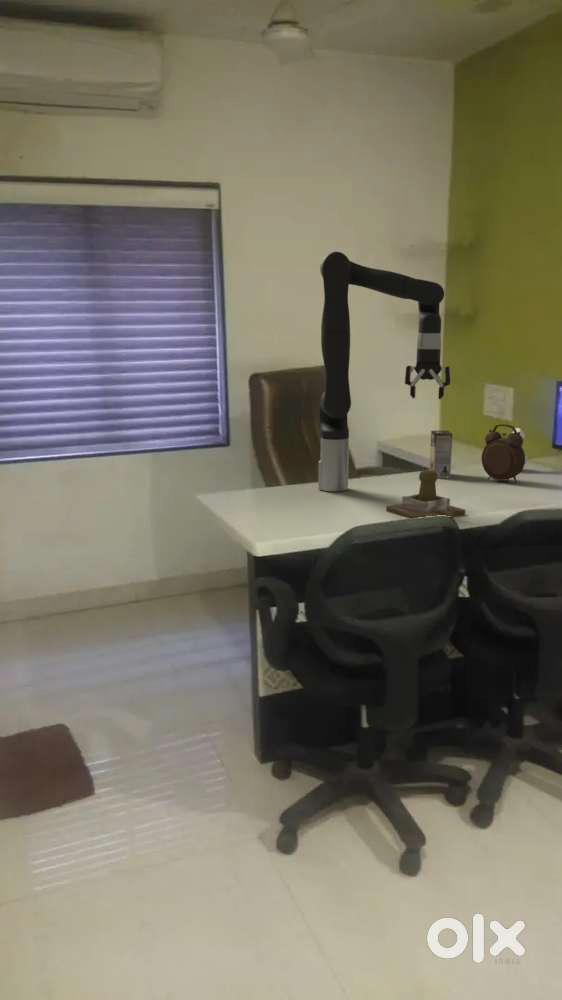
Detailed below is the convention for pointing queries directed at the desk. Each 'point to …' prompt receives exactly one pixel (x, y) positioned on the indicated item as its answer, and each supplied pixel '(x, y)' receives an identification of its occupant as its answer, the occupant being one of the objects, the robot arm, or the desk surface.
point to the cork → (427, 486)
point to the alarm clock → (503, 454)
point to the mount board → (424, 507)
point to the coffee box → (441, 453)
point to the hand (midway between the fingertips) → (426, 398)
